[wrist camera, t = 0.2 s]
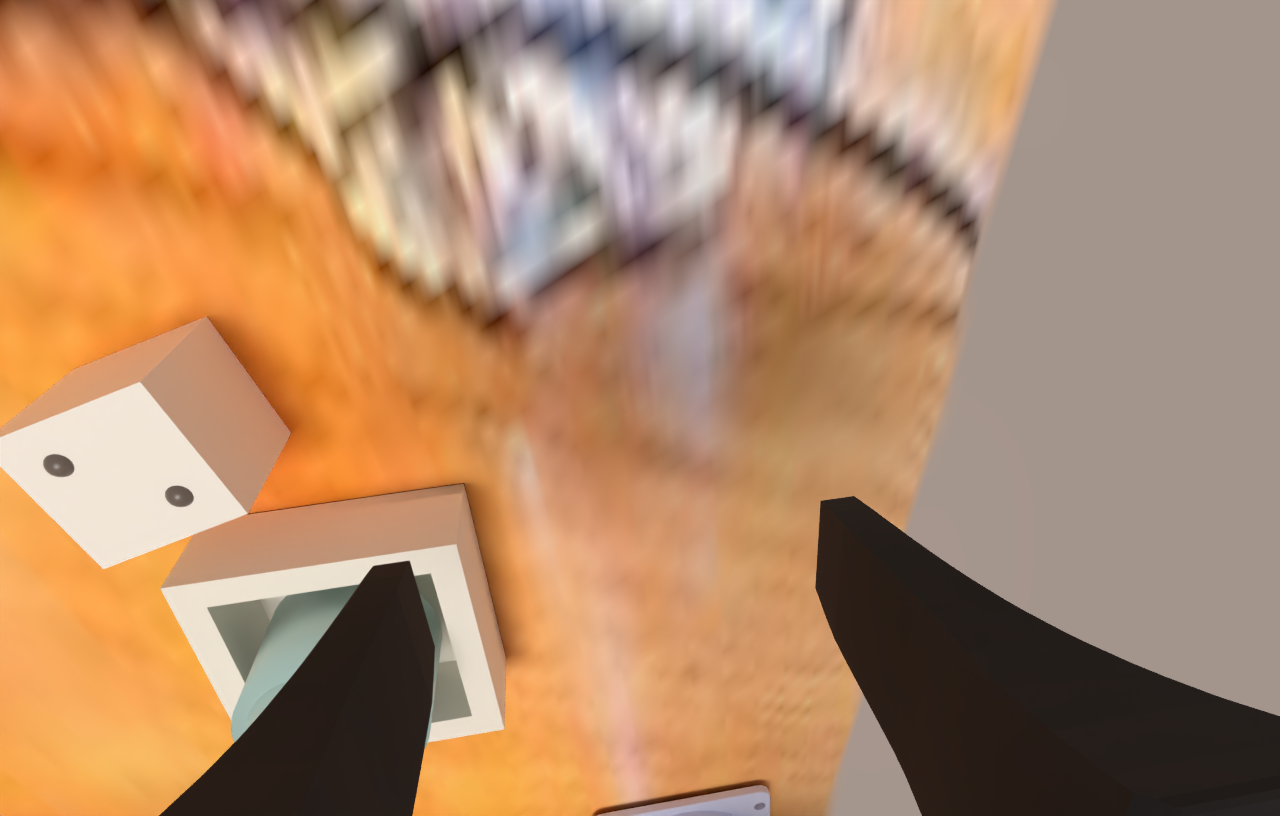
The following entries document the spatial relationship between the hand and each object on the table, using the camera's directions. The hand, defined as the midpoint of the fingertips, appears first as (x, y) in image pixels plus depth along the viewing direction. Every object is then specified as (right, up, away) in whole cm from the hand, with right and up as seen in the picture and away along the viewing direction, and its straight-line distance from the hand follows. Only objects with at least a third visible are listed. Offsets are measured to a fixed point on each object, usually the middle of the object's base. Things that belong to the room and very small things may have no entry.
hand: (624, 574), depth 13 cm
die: (-13, +3, +8) cm, 15 cm away
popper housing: (-9, -3, +12) cm, 15 cm away
